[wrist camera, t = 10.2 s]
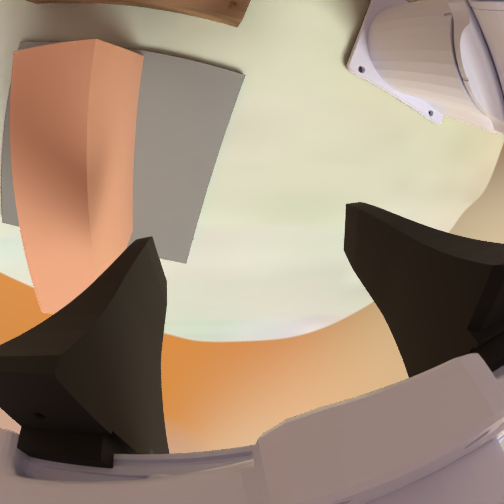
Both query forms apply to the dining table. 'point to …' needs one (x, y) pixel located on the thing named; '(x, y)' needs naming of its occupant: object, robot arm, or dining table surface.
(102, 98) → the salmon orange block
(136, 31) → the dining table surface
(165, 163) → the mat
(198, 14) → the rack
